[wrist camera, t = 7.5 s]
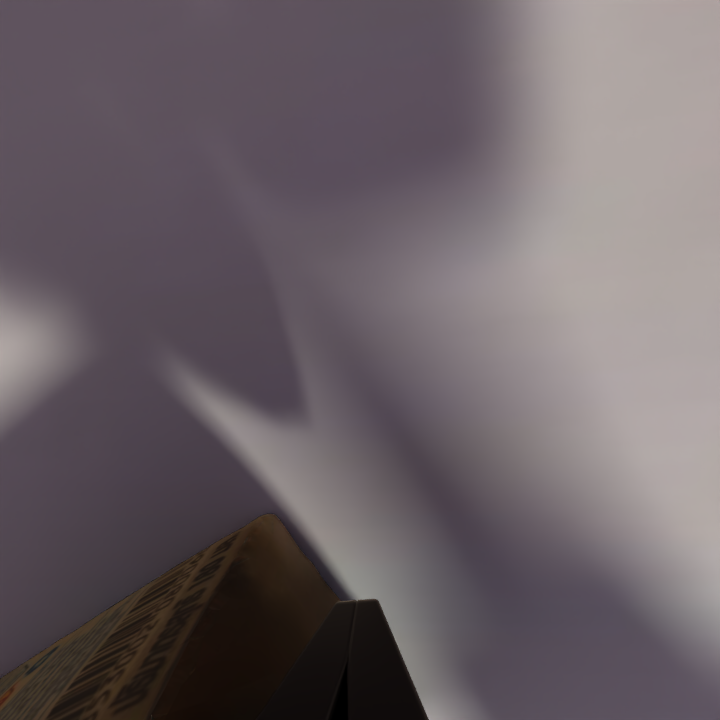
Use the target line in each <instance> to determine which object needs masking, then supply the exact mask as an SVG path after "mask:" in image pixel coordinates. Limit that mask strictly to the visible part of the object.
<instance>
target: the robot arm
mask: <svg viewBox="0 0 720 720" xmlns="http://www.w3.org/2000/svg"><path fill="white" fill-rule="evenodd" d="M256 720H429V719H428V717H427V714H426V712H425V710H424V707H423V705H422V703H421V700H420V698H419V696H418V693H417V691H416V688H415V686H414V684H413V681H412V679H411V677H410V674H409V672H408V670H407V667H406V665H405V662H404V660H403V658H402V655H401V653H400V651H399V648H398V646H397V643H396V641H395V639H394V636H393V634H392V632H391V629H390V627H389V625H388V622H387V620H386V617H385V615H384V613H383V610H382V608H381V606H380V603H379V601H378V600H376V599H366V600H358V601H356V600H351V601H338V602H336V603H335V604H334V605H333V607H332V608H331V610H330V611H329V613H328V614H327V616H326V617H325V619H324V620H323V622H322V623H321V625H320V626H319V627H318V629H317V630H316V632H315V633H314V635H313V636H312V638H311V639H310V641H309V642H308V644H307V645H306V646H305V648H304V649H303V651H302V652H301V654H300V655H299V657H298V658H297V660H296V661H295V663H294V664H293V666H292V667H291V668H290V670H289V671H288V673H287V674H286V676H285V677H284V679H283V680H282V682H281V683H280V685H279V686H278V688H277V689H276V690H275V692H274V693H273V695H272V696H271V698H270V699H269V701H268V702H267V704H266V705H265V707H264V708H263V710H262V711H261V712H260V714H259V715H258V717H257V718H256Z"/></svg>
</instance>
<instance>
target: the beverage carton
mask: <svg viewBox="0 0 720 720" xmlns="http://www.w3.org/2000/svg"><path fill="white" fill-rule="evenodd" d="M338 601H340V599H339V598H338V597H337V596H336V595H335V593H334V592H333V591H332V590H331V589H330V587H329V586H328V585H327V584H326V583H325V581H324V580H323V579H322V577H321V576H320V574H319V573H318V571H317V570H316V568H315V566H314V565H313V564H312V563H311V561H310V560H309V559H308V558H307V557H306V556H305V555H304V554H303V552H302V551H301V550H300V548H299V547H298V546H297V544H296V543H295V541H294V540H293V538H292V537H291V535H290V534H289V532H288V531H287V530H286V528H285V527H284V525H283V524H282V522H281V521H280V520H279V519H278V518H277V517H276V515H273V514H265V515H262V516H260V517H258V518H257V519H255V520H254V521H252V522H251V523H249V524H248V525H246V526H245V527H243V528H241V529H239V530H238V531H236V532H234V533H232V534H230V535H228V536H226V537H224V538H223V539H221V540H219V541H218V542H216V543H214V544H213V545H211V546H209V547H208V548H206V549H204V550H203V551H201V552H199V553H198V554H196V555H194V556H192V557H191V558H189V559H187V560H186V561H184V562H182V563H181V564H179V565H177V566H176V567H174V568H173V569H171V570H169V571H168V572H166V573H165V574H163V575H161V576H160V577H158V578H157V579H155V580H154V581H152V582H150V583H149V584H147V585H146V586H144V587H142V588H141V589H139V590H138V591H136V592H134V593H133V594H131V595H130V596H128V597H126V598H125V599H123V600H122V601H120V602H118V603H117V604H115V605H114V606H112V607H111V608H109V609H107V610H106V611H104V612H103V613H101V614H100V615H98V616H96V617H95V618H93V619H92V620H90V621H89V622H87V623H86V624H84V625H83V626H82V627H80V628H79V629H77V630H76V631H74V632H72V633H71V634H69V635H67V636H65V637H64V638H62V639H60V640H58V641H57V642H56V643H54V644H53V645H52V646H50V647H49V648H47V649H45V650H44V651H42V652H40V653H39V654H37V655H36V656H34V657H33V658H31V659H30V660H28V661H27V662H25V663H23V664H22V665H20V666H19V667H17V668H16V669H14V670H13V671H11V672H10V673H8V674H7V675H5V676H4V677H2V678H0V720H256V718H257V717H258V715H259V714H260V712H261V711H262V710H263V708H264V707H265V705H266V704H267V702H268V701H269V699H270V698H271V696H272V695H273V693H274V692H275V690H276V689H277V688H278V686H279V685H280V683H281V682H282V680H283V679H284V677H285V676H286V674H287V673H288V671H289V670H290V668H291V667H292V666H293V664H294V663H295V661H296V660H297V658H298V657H299V655H300V654H301V652H302V651H303V649H304V648H305V646H306V645H307V644H308V642H309V641H310V639H311V638H312V636H313V635H314V633H315V632H316V630H317V629H318V627H319V626H320V625H321V623H322V622H323V620H324V619H325V617H326V616H327V614H328V613H329V611H330V610H331V608H332V607H333V605H334V604H335V603H336V602H338Z"/></svg>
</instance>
